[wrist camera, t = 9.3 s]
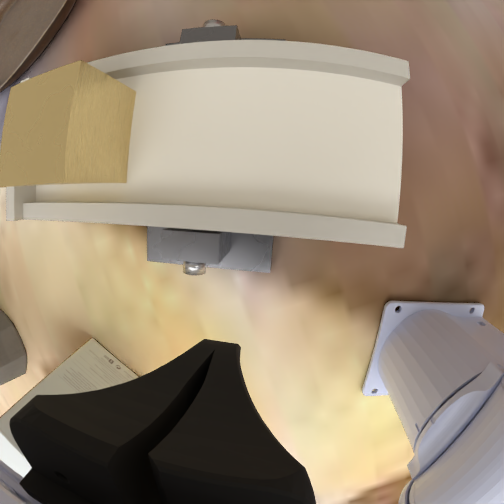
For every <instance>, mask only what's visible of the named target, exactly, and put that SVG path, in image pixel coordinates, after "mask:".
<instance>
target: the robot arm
mask: <svg viewBox="0 0 504 504" xmlns="http://www.w3.org/2000/svg"><path fill="white" fill-rule="evenodd" d="M397 306H400V308H399V310H397V311H395V308H396V307H397ZM471 308H472V309H471ZM470 309H471V311H470ZM483 312H484V305H483V304H481V303H443V302H412V301H389V302H387V303H386V304H385V306H384V310H383V314H382V318H381V323H380V327H379V331H378V335H377V339H376V343H375V347H374V350H373V354H372V358H371V361H370V365H369V368H368V371H367V375H366V378H365V381H364V384H363V387H362V393H363V395H365V396H377V395H389V396H390V399H391V401H392V403H393V405H394V407H395V410H396V412H397V414H398V416H399V419H400V421H401V423H402V425H403V428H404V430H405V432H406V435H407V437H408V439H409V442H410V444H411V447H412V449H413V451H414V457H413V459H412V460H411V461H410V462H409V463H408V465H407V466H408V469H409V472H410V474H411V477H412V480H411V481H410V482H409V483H408V484H406V486H405V487H404V489H403V490H402V493H401V495H400V499H399V504H504V333H502V332H501V331H500V330H498V329H497V328H496V327H494V326H493V325H492V324H490V323H489V322H488V321H486V320H485V319H484V318H482V316H483ZM240 350H241V347H240V346H239V345H238V344H234V343H227V342H220V341H214V340H207V339H204V340H202V341H201V342H199V343H198V344H196V345H195V346H193V347H192V348H191V349H189V350H188V351H186V352H185V353H183V354H182V355H180V356H179V357H177V358H175V359H174V360H172V361H170V362H169V363H167V364H165V365H163V366H161V367H159V368H158V369H156V370H154V371H152V372H150V373H148V374H146V375H143V376H141V377H138V378H136V379H133V380H131V381H128V382H125V383H122V384H118V385H114V386H111V387H107V388H104V389H99V390H94V391H89V392H82V393H74V394H58V395H36V396H35V397H34V398H32V399H31V400H30V401H29V402H28V403H27V404H26V405H25V406H24V407H23V408H21V409H20V410H19V411H18V412H17V413H16V414H15V415H14V416H13V417H12V418H11V419H10V422H9V425H10V430H11V434H12V436H13V438H14V440H15V442H16V443H17V445H18V447H19V448H20V450H21V452H22V453H23V455H24V456H25V458H26V460H27V461H28V463H29V464H30V466H31V467H32V468H31V470H30V471H29V472H28V473H27V474H26V475H25V477H22V476H21V475H19V474H18V473H17V472H15V471H14V470H13V469H11V468H10V467H9V466H8V465H6V464H5V463H4V462H3V461H1V460H0V504H316V501H315V496H314V491H313V488H312V485H311V482H310V479H309V477H308V474H307V471H306V469H305V467H304V466H302V465H301V464H300V463H299V462H298V461H297V460H296V459H295V458H294V457H293V456H292V455H291V454H290V453H289V452H288V451H287V450H286V449H285V448H284V447H283V446H282V445H281V444H280V443H279V441H278V440H277V439H276V438H275V437H274V435H273V434H272V433H271V431H270V430H269V428H268V427H267V426H266V424H265V423H264V421H263V420H262V418H261V417H260V415H259V413H258V411H257V410H256V408H255V406H254V404H253V402H252V400H251V398H250V395H249V393H248V390H247V387H246V385H245V382H244V378H243V375H242V371H241V366H240ZM373 389H376V390H374V391H372V390H373Z"/></svg>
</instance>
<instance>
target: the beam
mask: <svg viewBox="0 0 504 504" xmlns="http://www.w3.org/2000/svg"><path fill="white" fill-rule="evenodd" d="M88 64H89V65H91V66H93V67H95V68H97V69H98V70H100V71H102V72H104V73H105V74H107V75H109V76H111V77H112V78H114V79H116V80H118V81H119V82H121V83H123V84H124V85H126V86H128V87H129V88H131V89H133V90H134V91H136V97H135V104H134V111H133V118H132V126H131V135H130V145H129V156H128V169H127V183H89V184H59V185H32V186H13V187H6V221H17V220H22V219H28V220H50V221H70V222H89V223H106V224H123V225H139V226H154V227H169V228H183V229H196V230H210V231H223V232H235V233H248V234H260V235H272V236H283V237H294V238H305V239H316V240H327V241H337V242H348V243H358V244H368V245H378V246H387V247H397V248H404V243H405V235H406V227H407V226H405V225H402V224H398V223H397V220H398V211H399V200H400V187H401V171H402V142H403V117H402V89H401V86H402V85H404V84H405V83H406V82H407V81H408V80H409V79H410V72H409V62H408V61H406V60H402V59H398V58H394V57H390V56H386V55H382V54H377V53H373V52H368V51H363V50H357V49H352V48H346V47H339V46H332V45H325V44H316V43H307V42H295V41H278V40H222V41H206V42H194V43H184V44H176V45H168V46H161V47H155V48H149V49H143V50H138V51H133V52H128V53H123V54H119V55H115V56H111V57H107V58H103V59H99V60H95V61H92V62H88ZM29 79H31V78H30V77H29V78H27V79H25V80H22V81H20V83H22V82H24V81H26V80H29Z"/></svg>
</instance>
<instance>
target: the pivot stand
mask: <svg viewBox="0 0 504 504" xmlns="http://www.w3.org/2000/svg"><path fill="white" fill-rule="evenodd" d="M222 40H278V41H285V40H282V39H249V38H245V39H241V38H240V35H239V31H238V28H237V26H225V24H224V22H222V21H220V20H208V21H206V22H205V23H204V27H201V28H191V29H182V34H181V39H180V42H178V43H170V44H166V45H165V46H168V45H176V44H184V43H194V42H206V41H222ZM272 247H273V236H272V235H260V234H248V233H235V232H223V231H210V230H196V229H183V228H169V227H154V226H147V261H154V262H163V263H173V264H182V265H183V272H184V273H185V274H188V275H202V274H205V269H206V267H212V268H223V269H233V270H244V271H255V272H266V273H270V270H271V259H272Z"/></svg>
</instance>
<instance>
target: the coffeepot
mask: <svg viewBox="0 0 504 504" xmlns="http://www.w3.org/2000/svg"><path fill="white" fill-rule="evenodd" d="M26 368H27V356H26V351H25V348H24V345H23V342H22V340H21V338H20V336H19V334H18V331H17V330H16V328H15V326H14V325H13V323H12V322H11V320H10V319H9V318H8V316H7V315H6V314H5V313H4V312H3V311H2V310H0V385H2V384H4V383H6V382H8V381H11V380H13V379H15V378H17V377H19V376H21V375H23V374H25V373H26Z"/></svg>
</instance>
